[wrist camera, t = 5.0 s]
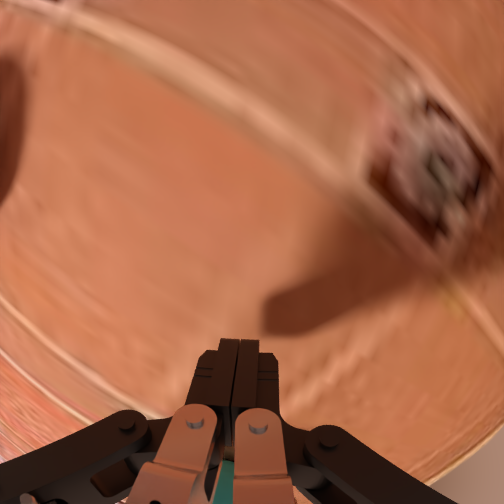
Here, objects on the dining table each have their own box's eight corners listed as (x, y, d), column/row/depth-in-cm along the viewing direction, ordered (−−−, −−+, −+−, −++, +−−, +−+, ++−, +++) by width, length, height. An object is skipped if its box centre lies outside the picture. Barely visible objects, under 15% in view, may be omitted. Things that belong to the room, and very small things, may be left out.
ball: (177, 484, 17) (177, 437, 16) (254, 491, 18) (268, 445, 17) (169, 543, 11) (164, 506, 10) (261, 550, 12) (280, 514, 11)
